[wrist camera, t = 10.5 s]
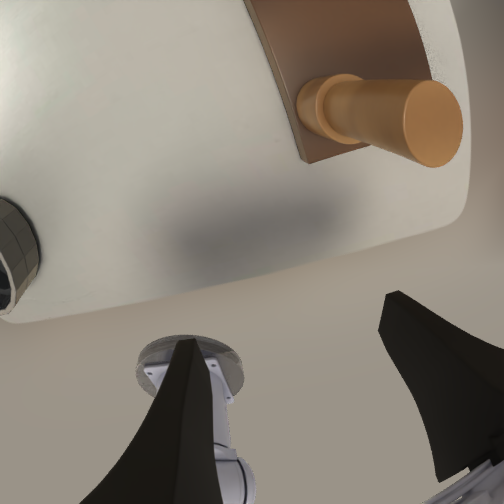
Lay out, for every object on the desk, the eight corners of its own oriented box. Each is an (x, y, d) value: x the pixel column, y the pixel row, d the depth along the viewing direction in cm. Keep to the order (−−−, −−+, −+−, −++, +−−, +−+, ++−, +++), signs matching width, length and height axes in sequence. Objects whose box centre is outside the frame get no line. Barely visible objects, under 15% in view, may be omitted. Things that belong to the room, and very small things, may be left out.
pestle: (355, 134, 15) (467, 177, 7) (299, 139, 15) (392, 185, 7) (350, 77, 13) (468, 76, 5) (292, 78, 13) (386, 59, 5)
